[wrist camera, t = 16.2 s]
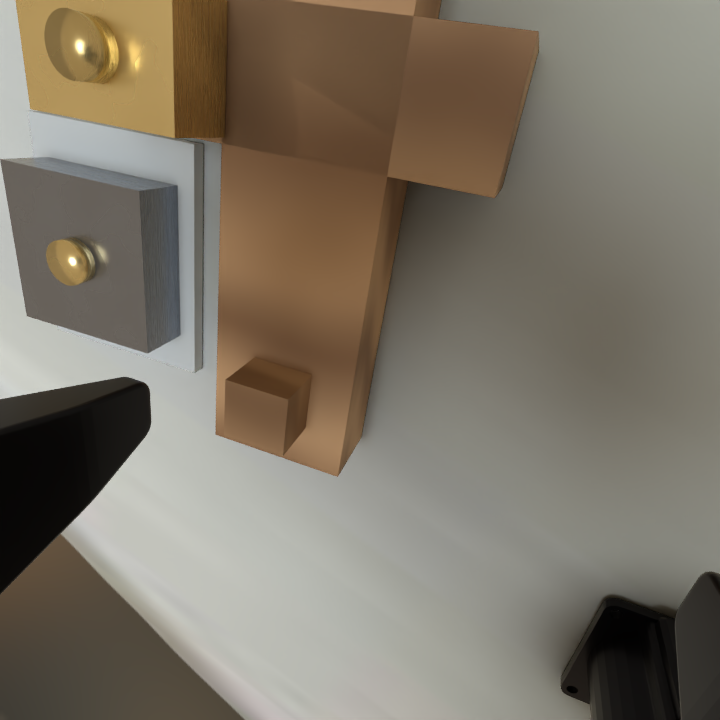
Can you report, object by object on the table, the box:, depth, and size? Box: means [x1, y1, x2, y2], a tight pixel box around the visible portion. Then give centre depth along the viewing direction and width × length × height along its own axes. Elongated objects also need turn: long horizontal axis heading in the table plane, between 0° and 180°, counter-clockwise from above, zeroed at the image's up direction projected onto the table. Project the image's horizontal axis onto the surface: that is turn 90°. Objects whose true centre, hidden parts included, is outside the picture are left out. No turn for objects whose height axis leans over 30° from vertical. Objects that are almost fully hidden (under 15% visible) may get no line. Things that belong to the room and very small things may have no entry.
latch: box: [16, 0, 228, 138], centre depth 14 cm, size 4×5×3 cm
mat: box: [27, 110, 203, 373], centre depth 22 cm, size 10×8×1 cm
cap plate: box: [0, 157, 181, 354], centre depth 21 cm, size 7×6×3 cm
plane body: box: [196, 0, 539, 477], centre depth 16 cm, size 23×12×5 cm, turn 171°
